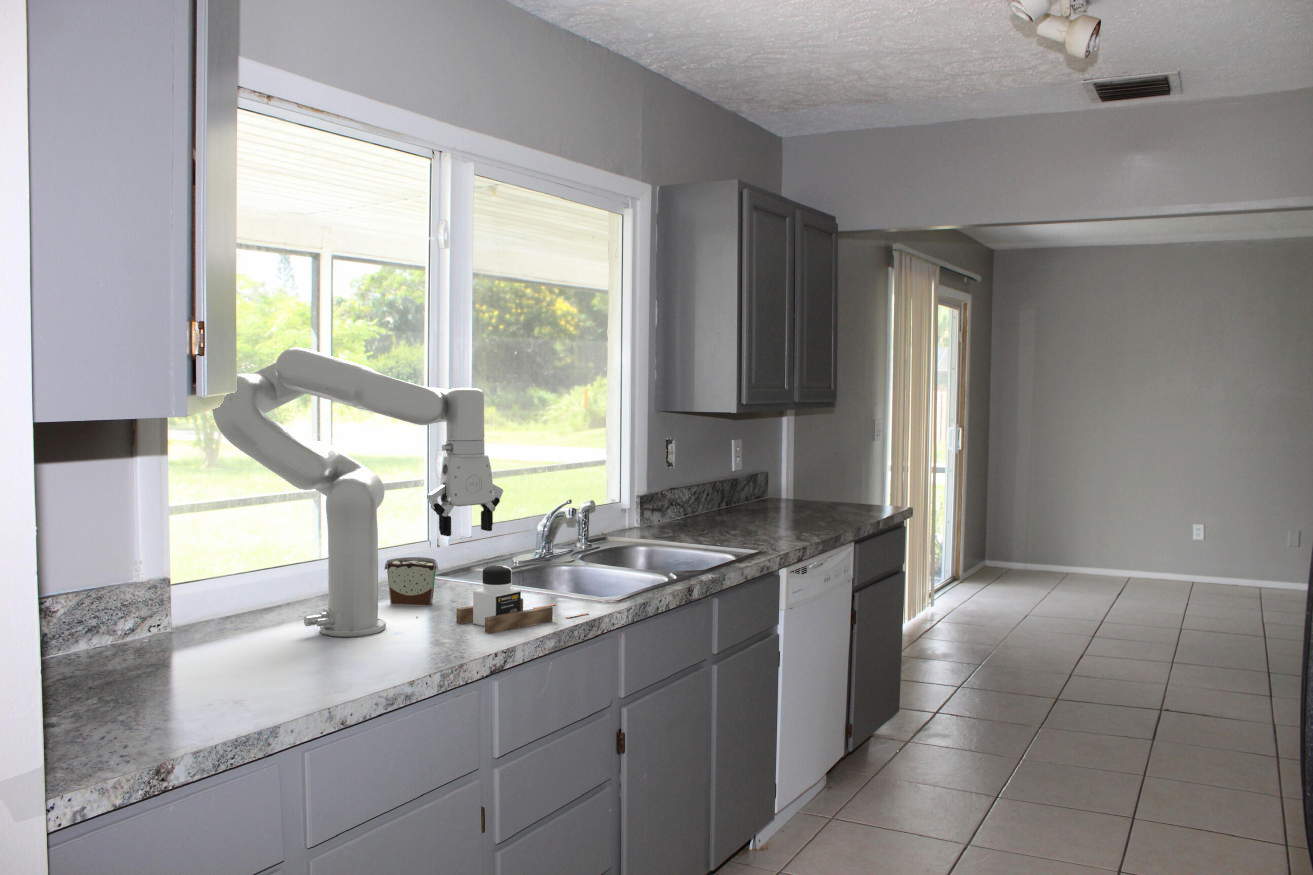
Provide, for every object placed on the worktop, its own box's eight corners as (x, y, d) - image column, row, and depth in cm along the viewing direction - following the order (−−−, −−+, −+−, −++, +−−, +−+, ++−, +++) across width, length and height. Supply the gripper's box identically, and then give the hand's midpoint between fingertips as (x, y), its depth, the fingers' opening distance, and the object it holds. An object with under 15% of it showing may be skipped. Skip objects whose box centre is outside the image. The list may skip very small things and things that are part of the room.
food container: (446, 600, 219) (446, 557, 219) (437, 606, 213) (437, 562, 213) (394, 598, 221) (394, 555, 220) (384, 604, 214) (384, 560, 214)
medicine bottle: (496, 629, 194) (496, 571, 193) (472, 623, 198) (472, 566, 198) (521, 623, 200) (521, 566, 199) (497, 617, 204) (498, 562, 203)
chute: (488, 633, 190) (489, 618, 190) (456, 622, 199) (456, 608, 199) (552, 621, 202) (552, 607, 201) (519, 611, 210) (519, 597, 210)
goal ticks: (567, 618, 204) (567, 617, 204) (533, 608, 213) (533, 607, 213) (589, 614, 208) (589, 613, 208) (554, 604, 217) (554, 603, 217)
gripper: (437, 451, 184) (438, 539, 185) (511, 448, 196) (512, 530, 197) (418, 450, 189) (419, 535, 190) (491, 446, 201) (491, 526, 202)
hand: (466, 532), depth 194 cm, fingers open, 9 cm apart
